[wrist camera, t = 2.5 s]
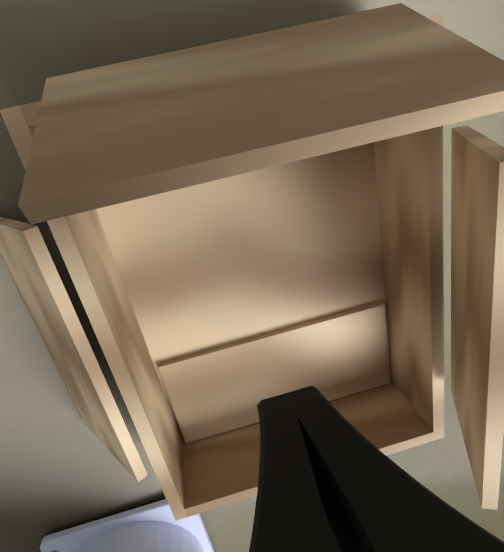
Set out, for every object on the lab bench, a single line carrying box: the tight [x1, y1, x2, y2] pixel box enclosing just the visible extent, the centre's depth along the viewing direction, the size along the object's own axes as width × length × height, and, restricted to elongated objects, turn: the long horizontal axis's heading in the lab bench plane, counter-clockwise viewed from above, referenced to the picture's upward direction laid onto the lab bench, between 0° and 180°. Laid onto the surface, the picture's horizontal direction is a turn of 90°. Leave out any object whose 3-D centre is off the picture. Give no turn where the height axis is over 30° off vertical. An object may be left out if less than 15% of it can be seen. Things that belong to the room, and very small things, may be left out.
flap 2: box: [451, 126, 504, 510], centre depth 12 cm, size 10×1×5 cm, turn 11°
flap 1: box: [18, 3, 504, 225], centre depth 8 cm, size 1×9×5 cm, turn 100°
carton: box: [0, 14, 444, 521], centre depth 15 cm, size 16×16×4 cm
